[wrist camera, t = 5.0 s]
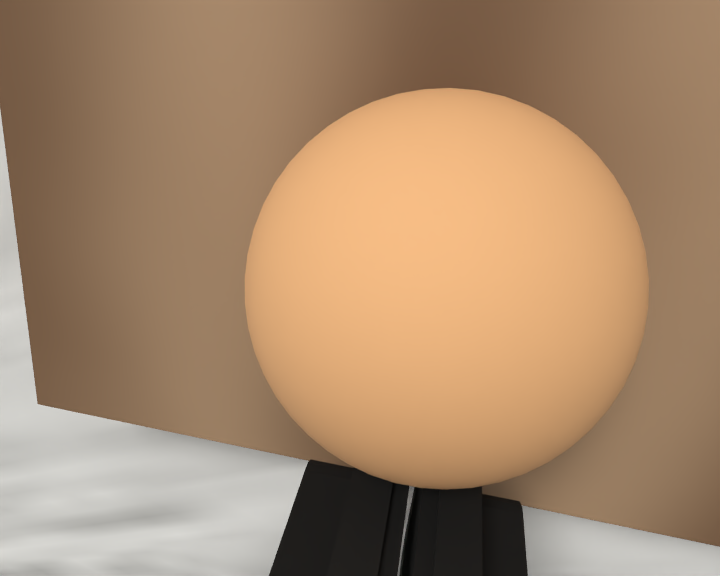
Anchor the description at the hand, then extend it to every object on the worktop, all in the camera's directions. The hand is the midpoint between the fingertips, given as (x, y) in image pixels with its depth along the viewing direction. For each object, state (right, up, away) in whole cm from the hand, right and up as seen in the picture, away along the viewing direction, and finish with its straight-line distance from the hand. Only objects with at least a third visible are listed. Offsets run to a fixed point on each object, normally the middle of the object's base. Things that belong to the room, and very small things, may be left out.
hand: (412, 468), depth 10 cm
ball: (0, +3, -3) cm, 4 cm away
